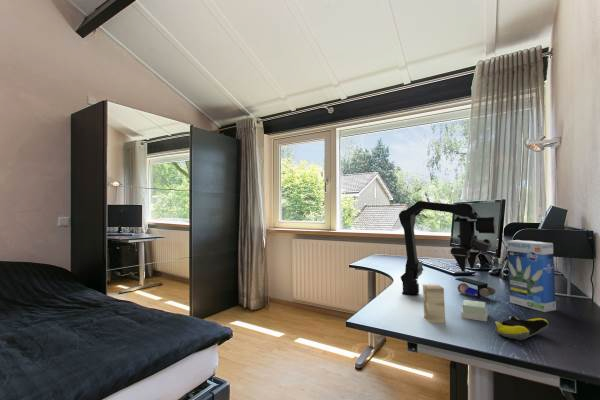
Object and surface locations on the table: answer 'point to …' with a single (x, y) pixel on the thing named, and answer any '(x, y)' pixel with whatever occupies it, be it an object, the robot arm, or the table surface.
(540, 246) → the string lights box
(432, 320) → the maple block
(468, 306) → the top slab
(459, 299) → the table surface
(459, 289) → the figurine character
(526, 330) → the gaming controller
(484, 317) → the bottom slab
